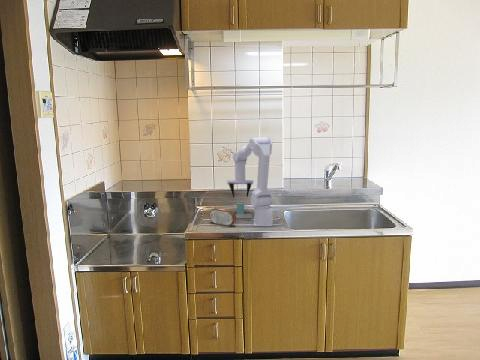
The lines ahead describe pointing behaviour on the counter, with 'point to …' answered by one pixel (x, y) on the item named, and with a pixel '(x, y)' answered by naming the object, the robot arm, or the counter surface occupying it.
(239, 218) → the pad
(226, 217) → the tin
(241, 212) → the block
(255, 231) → the counter surface
